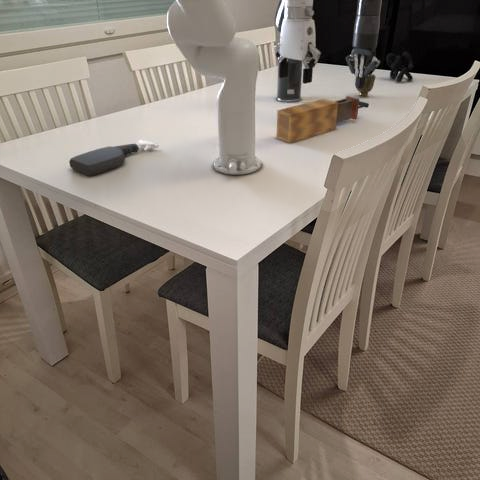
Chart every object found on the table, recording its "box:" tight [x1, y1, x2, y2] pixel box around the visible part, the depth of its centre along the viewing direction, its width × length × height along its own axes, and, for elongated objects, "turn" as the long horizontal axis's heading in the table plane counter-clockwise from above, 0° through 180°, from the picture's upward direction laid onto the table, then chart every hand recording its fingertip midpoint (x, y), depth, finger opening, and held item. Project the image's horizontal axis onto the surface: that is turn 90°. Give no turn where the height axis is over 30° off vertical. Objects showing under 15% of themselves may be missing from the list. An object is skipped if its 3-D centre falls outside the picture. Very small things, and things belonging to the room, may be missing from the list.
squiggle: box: [385, 51, 414, 83], centre depth 198 cm, size 11×10×15 cm
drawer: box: [334, 95, 370, 124], centre depth 146 cm, size 25×5×7 cm, turn 128°
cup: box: [356, 73, 377, 97], centre depth 176 cm, size 8×7×8 cm
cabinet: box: [276, 98, 338, 144], centre depth 139 cm, size 20×6×9 cm, turn 128°
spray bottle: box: [68, 139, 160, 177], centre depth 124 cm, size 3×11×24 cm
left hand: (295, 79), depth 129 cm, fingers open, 9 cm apart
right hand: (359, 88), depth 148 cm, fingers closed
